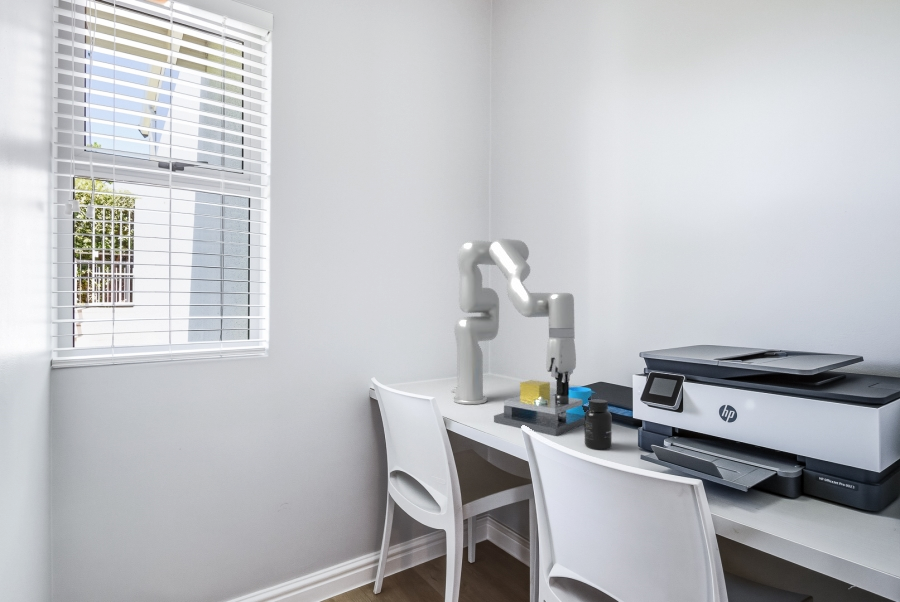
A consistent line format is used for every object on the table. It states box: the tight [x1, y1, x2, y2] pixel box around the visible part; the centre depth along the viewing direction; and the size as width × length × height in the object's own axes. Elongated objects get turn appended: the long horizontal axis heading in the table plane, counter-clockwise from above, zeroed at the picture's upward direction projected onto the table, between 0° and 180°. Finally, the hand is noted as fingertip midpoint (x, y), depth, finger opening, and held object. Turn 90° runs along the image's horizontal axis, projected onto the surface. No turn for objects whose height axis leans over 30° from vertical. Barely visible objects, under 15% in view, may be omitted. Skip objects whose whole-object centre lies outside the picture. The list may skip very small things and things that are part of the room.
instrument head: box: [503, 379, 583, 414], centre depth 149 cm, size 18×16×7 cm
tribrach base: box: [493, 405, 585, 437], centre depth 150 cm, size 22×19×5 cm
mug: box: [566, 386, 596, 416], centre depth 162 cm, size 12×8×8 cm
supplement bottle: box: [584, 398, 613, 451], centre depth 126 cm, size 7×7×12 cm
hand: (562, 394), depth 145 cm, fingers closed
